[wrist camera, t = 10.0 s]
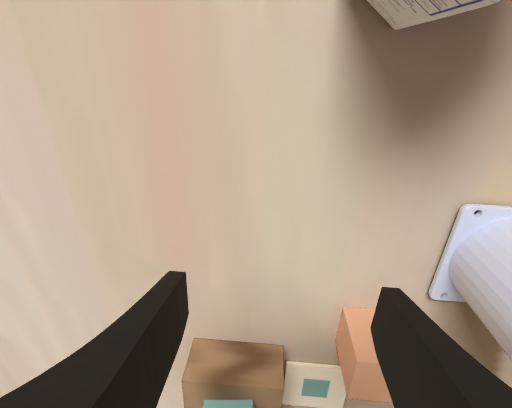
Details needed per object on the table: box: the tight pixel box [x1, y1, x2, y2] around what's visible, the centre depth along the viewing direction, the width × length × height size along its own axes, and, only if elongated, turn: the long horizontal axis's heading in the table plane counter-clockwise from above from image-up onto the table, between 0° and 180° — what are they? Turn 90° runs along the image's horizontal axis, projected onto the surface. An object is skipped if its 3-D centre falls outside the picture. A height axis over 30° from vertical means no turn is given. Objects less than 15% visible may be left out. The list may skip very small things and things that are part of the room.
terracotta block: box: [336, 307, 393, 403], centre depth 23 cm, size 4×4×5 cm
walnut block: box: [182, 338, 284, 408], centre depth 27 cm, size 8×8×4 cm
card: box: [282, 361, 346, 408], centre depth 29 cm, size 6×6×1 cm
